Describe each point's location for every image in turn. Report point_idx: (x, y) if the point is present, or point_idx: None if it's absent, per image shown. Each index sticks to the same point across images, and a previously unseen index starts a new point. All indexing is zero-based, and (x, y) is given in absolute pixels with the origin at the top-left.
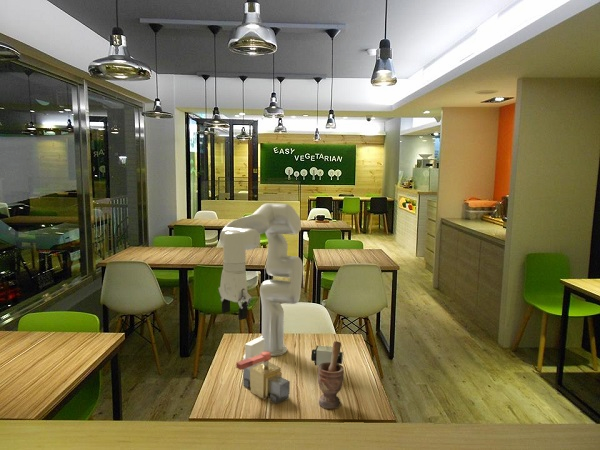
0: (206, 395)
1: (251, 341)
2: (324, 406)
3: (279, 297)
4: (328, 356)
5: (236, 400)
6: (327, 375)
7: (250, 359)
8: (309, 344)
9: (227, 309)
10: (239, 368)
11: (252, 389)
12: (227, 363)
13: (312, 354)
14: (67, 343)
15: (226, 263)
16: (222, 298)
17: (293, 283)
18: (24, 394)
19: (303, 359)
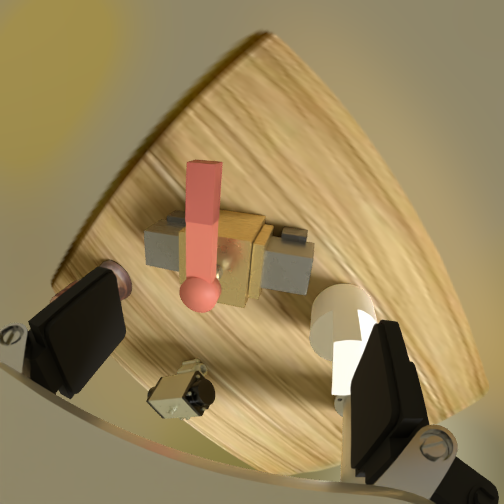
0: (347, 124)
1: (355, 364)
2: (106, 262)
3: None
4: (165, 391)
5: (260, 158)
6: (58, 293)
7: (201, 226)
8: (315, 440)
9: (360, 380)
10: (201, 160)
11: (255, 217)
12: (429, 298)
13: (195, 389)
14: None
15: None
16: (422, 470)
17: None
18: None
19: (282, 398)
